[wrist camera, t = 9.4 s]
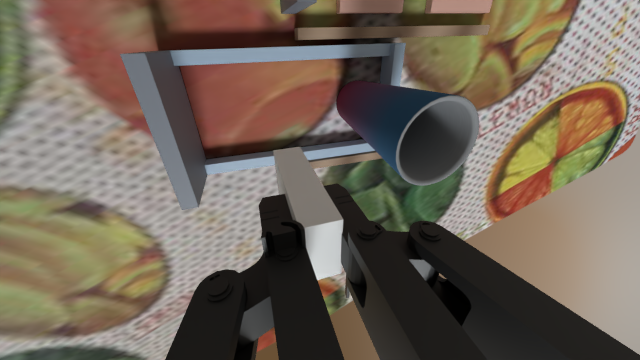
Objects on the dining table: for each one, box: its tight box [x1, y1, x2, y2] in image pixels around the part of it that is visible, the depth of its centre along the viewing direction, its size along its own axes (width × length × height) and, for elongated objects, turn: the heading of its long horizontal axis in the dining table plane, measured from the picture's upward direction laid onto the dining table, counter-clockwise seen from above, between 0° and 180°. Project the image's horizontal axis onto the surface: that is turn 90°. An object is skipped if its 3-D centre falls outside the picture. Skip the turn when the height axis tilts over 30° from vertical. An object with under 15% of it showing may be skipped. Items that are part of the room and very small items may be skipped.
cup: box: [337, 80, 479, 185], centre depth 23 cm, size 7×7×15 cm
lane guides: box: [294, 25, 490, 169], centre depth 26 cm, size 23×30×2 cm
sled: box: [120, 43, 406, 210], centre depth 24 cm, size 24×12×8 cm, turn 91°
